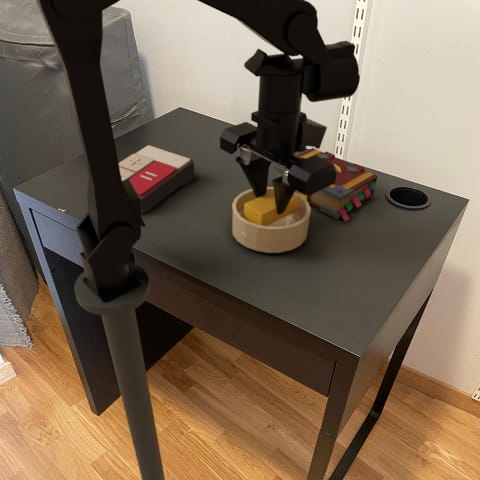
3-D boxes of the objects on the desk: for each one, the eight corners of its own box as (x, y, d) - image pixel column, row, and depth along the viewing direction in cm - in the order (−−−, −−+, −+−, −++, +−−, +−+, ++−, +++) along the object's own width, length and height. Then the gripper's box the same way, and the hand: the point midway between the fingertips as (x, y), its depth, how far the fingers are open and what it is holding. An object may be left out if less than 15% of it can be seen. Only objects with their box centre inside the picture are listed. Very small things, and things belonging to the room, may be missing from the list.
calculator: (91, 176, 83) (147, 141, 92) (97, 198, 86) (150, 161, 95) (141, 195, 79) (194, 156, 88) (145, 217, 82) (196, 177, 91)
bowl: (268, 266, 73) (270, 238, 69) (216, 230, 79) (216, 203, 75) (322, 236, 78) (326, 209, 75) (270, 205, 85) (272, 179, 81)
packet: (260, 228, 73) (261, 214, 71) (243, 217, 75) (243, 203, 74) (297, 211, 77) (299, 197, 75) (279, 200, 79) (281, 187, 77)
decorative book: (310, 168, 95) (313, 143, 92) (379, 200, 87) (385, 174, 84) (271, 187, 89) (273, 162, 86) (341, 223, 81) (346, 197, 78)
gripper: (372, 113, 63) (350, 215, 74) (273, 74, 73) (267, 169, 84) (315, 135, 58) (300, 242, 69) (217, 90, 68) (217, 190, 79)
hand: (271, 207), depth 75 cm, fingers closed on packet, 4 cm apart
